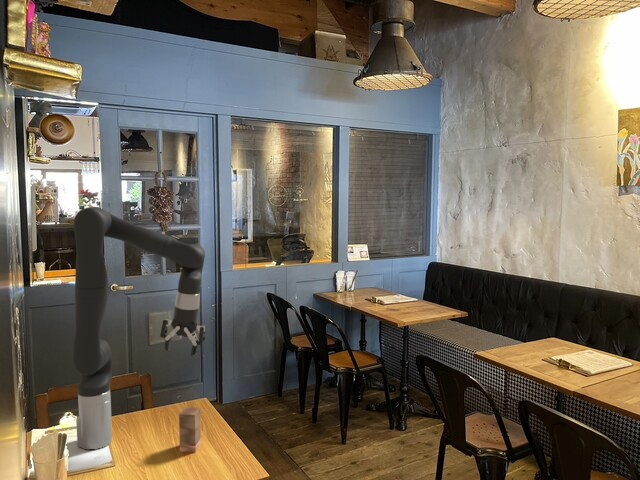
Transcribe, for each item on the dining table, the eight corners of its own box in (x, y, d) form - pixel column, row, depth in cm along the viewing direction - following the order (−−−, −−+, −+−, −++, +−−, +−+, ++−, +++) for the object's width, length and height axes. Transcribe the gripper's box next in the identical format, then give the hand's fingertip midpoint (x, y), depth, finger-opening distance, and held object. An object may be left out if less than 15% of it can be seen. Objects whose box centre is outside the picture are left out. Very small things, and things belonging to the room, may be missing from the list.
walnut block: (184, 407, 153) (185, 443, 155) (178, 414, 148) (179, 451, 150) (200, 407, 153) (200, 443, 154) (194, 414, 148) (195, 452, 149)
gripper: (161, 304, 154) (154, 352, 156) (204, 312, 153) (197, 361, 154) (170, 299, 161) (164, 345, 163) (211, 306, 160) (205, 353, 162)
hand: (180, 353), depth 159 cm, fingers open, 8 cm apart
